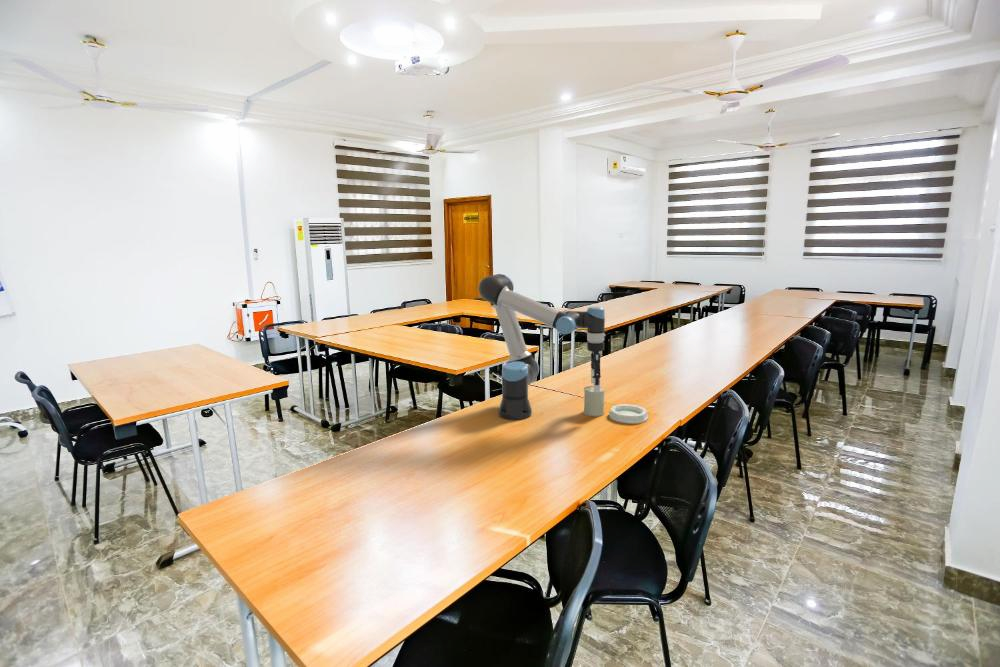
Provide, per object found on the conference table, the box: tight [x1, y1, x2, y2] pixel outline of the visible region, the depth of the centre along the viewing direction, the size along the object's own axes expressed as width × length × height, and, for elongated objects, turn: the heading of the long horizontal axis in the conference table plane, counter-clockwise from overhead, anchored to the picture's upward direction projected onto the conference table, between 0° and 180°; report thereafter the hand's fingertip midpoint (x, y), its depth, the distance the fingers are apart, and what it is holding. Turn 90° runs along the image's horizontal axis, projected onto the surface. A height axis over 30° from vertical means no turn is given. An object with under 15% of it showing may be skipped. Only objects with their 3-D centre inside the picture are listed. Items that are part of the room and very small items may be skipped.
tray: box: [608, 403, 649, 425], centre depth 222 cm, size 17×17×3 cm
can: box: [583, 385, 605, 417], centre depth 227 cm, size 9×9×12 cm
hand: (595, 387), depth 225 cm, fingers open, 13 cm apart
